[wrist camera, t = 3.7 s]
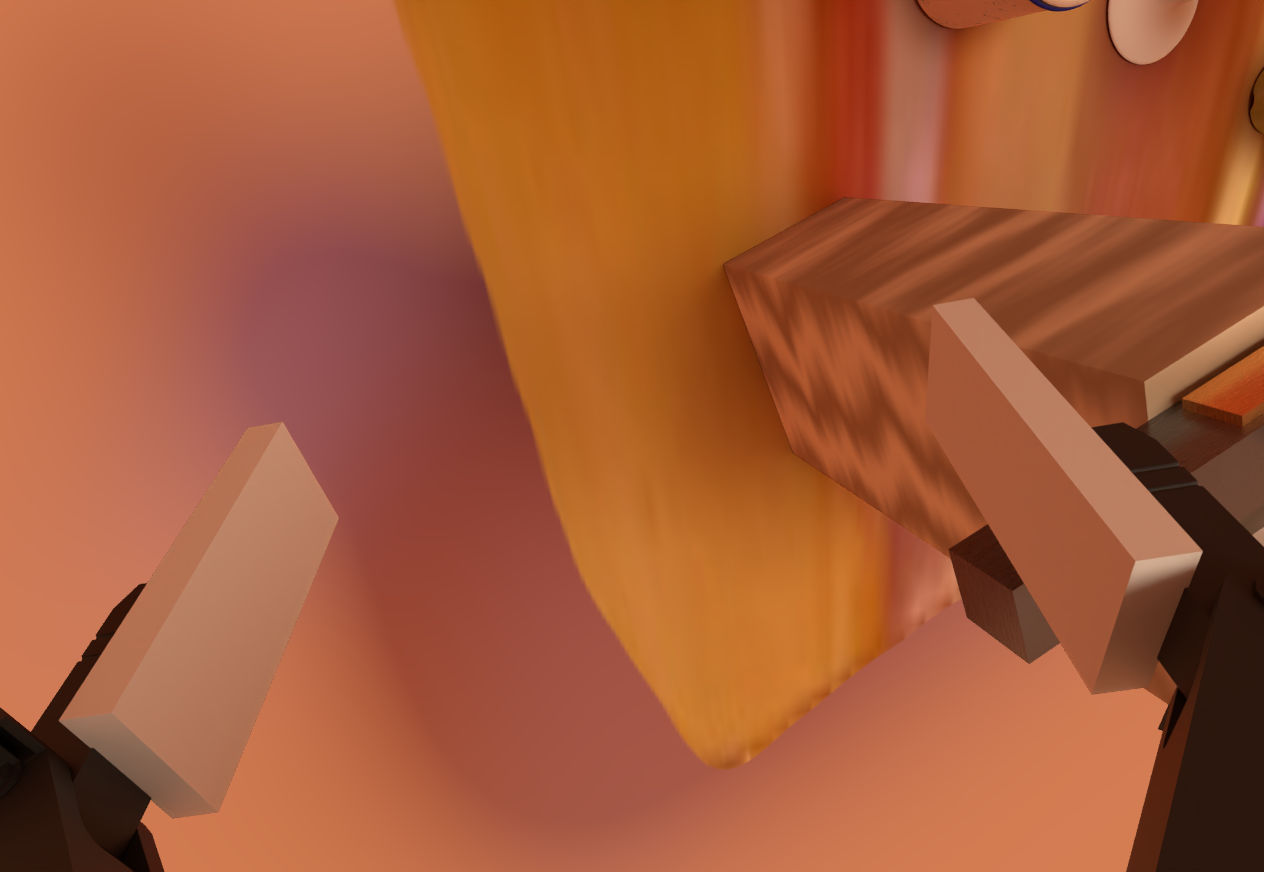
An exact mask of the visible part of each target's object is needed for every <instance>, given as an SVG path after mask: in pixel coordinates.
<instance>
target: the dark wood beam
mask: <svg viewBox="0 0 1264 872" xmlns="http://www.w3.org/2000/svg"><path fill="white" fill-rule="evenodd" d="M1136 429H1137V430H1139V431H1141V432H1143V433H1145V434H1147V435H1149V436H1150V437H1152V438H1154V439H1156V440H1157V441H1158V442H1159V443H1160V444H1161V445H1162V446H1163V447H1164V448H1165V449H1166V450H1167V451H1168V452H1169V453H1170V454H1171V455H1172V456H1173V457H1174V458H1175V459H1176V460H1177V461H1178V462H1179V466H1180V467H1184V468H1185V469H1186V470H1187V471H1188V472H1189V473H1190V474H1191V475H1192V476H1193V477H1194V478H1195V479H1196V480H1197V481H1198V485H1199V486H1203V487H1204V488H1205V489H1206V490H1207V491H1208V492H1209V493H1210V494H1211V495H1212V496H1213V497H1214V498H1215V499H1216V500H1217V501H1218V502H1219V503H1220V504H1221V505H1222V506H1223V507H1224V508H1225V509H1226V510H1227V511H1228V512H1229V513H1230V514H1231V515H1233V516H1234V517H1235V518H1236V519H1237V520H1238V521H1240V520H1241V519H1243V518H1244V517H1246V516H1247V515H1249V514H1250V513H1252V512H1253V511H1255V510H1256V509H1257V508H1259V507H1260V506H1262V505H1263V504H1264V346H1263V347H1261V348H1260V349H1258V350H1257V351H1255V352H1253V353H1252V354H1250V355H1249V356H1247V357H1246V358H1244V359H1243V360H1241V361H1239V362H1238V363H1236V364H1235V365H1233V366H1232V367H1230V368H1229V369H1227V370H1225V371H1224V372H1222V373H1221V374H1219V375H1218V376H1216V377H1215V378H1213V379H1211V380H1210V381H1208V382H1207V383H1205V384H1204V385H1202V386H1201V387H1199V388H1197V389H1196V390H1194V391H1193V392H1191V393H1190V394H1188V395H1186V396H1185V397H1183V398H1182V400H1180V401H1178V402H1177V403H1175V404H1174V405H1172V406H1171V407H1169V408H1167V409H1166V410H1164V411H1163V412H1161V413H1160V414H1158V415H1157V416H1155V417H1153V418H1152V419H1150V420H1149V421H1147V422H1146V423H1144V424H1143V425H1141V426H1139V427H1138V428H1136ZM948 550H949V554H950V557H951V561H952V564H953V568H954V572H955V575H956V579H957V583H958V586H959V590H960V594H961V597H962V601H963V604H964V608H965V612H966V616H967V618H968V619H970V620H971V621H972V622H974V623H975V624H976V625H978V626H979V627H981V628H982V629H983V630H985V631H986V632H987V633H989V634H990V635H991V636H992V637H994V638H995V639H996V640H998V641H999V642H1001V643H1002V644H1003V645H1004V646H1006V647H1007V648H1009V649H1010V650H1011V651H1013V652H1014V653H1015V654H1017V655H1018V656H1019V657H1021V658H1022V659H1023V660H1025V661H1026V662H1027V663H1029V664H1030V663H1031V662H1033V661H1034V660H1036V659H1037V658H1039V657H1040V656H1042V655H1043V654H1045V653H1046V652H1047V651H1049V650H1050V649H1052V648H1053V647H1055V646H1056V645H1058V644H1059V643H1060V642H1059V640H1058V638H1057V637H1056V635H1055V633H1054V632H1053V630H1052V629H1051V627H1050V625H1049V624H1048V622H1047V620H1046V619H1045V617H1044V615H1043V614H1042V612H1041V610H1040V609H1039V607H1038V605H1037V604H1036V602H1035V601H1034V599H1033V597H1032V596H1031V594H1030V592H1029V591H1028V589H1027V587H1026V586H1025V584H1024V582H1023V581H1022V579H1021V578H1020V576H1019V574H1018V573H1017V571H1016V569H1015V568H1014V566H1013V564H1012V563H1011V561H1010V559H1009V558H1008V556H1007V554H1006V553H1005V551H1004V550H1003V548H1002V546H1001V545H1000V543H999V541H998V540H997V538H996V536H995V535H994V533H993V531H992V530H991V528H990V526H989V525H988V524H987V525H985V526H984V527H982V528H981V529H979V530H977V531H976V532H974V533H973V534H971V535H970V536H968V537H967V538H965V539H963V540H962V541H960V542H959V543H957V544H956V545H954V546H953V547H951V548H949V549H948Z"/></svg>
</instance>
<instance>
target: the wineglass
mask: <svg viewBox="0 0 1264 872" xmlns="http://www.w3.org/2000/svg"><path fill="white" fill-rule="evenodd" d="M1197 4H1198V0H1109V3H1108V25H1109V31H1110V35H1111V38H1112V41H1113V43H1114V46H1115V47H1116V49H1117V51H1118V52H1119V53H1120V54H1121V55H1122V56H1123V57H1124V58H1125V59H1126V60H1128V61H1130V62H1132V63H1135V64H1141V65H1144V64H1150V63H1153V62H1156V61H1158V60H1160V59H1161V58H1163V57H1164V56H1166V55H1167V54H1168V53H1169V52H1170V51H1171V50H1172V49H1173V48H1174V47H1175V46H1176V45H1177V44H1178V43H1179V42H1180V40H1181V39H1182V37H1183V36H1184V34H1185V33H1186V31H1187V29H1188V27H1189V25H1190V23H1191V21H1192V19H1193V16H1194V14H1195V11H1196V7H1197Z"/></svg>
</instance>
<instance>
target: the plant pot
mask: <svg viewBox="0 0 1264 872" xmlns="http://www.w3.org/2000/svg"><path fill="white" fill-rule="evenodd" d="M1253 94H1254V104H1253V106H1252V109H1251V110H1250V115H1251V120H1252V123H1253V125H1254V127H1255V128H1256V129H1257V130H1258V131H1259V132H1261V133H1263V134H1264V69H1263V71H1262V72H1261V74H1260V76H1259V77H1258V79H1257V81H1256V84H1255V86H1254V89H1253Z"/></svg>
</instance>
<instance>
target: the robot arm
mask: <svg viewBox="0 0 1264 872" xmlns="http://www.w3.org/2000/svg"><path fill="white" fill-rule="evenodd" d="M925 421H926V423H927V424H928V426H929V428H930V429H931V431H932V433H933V434H934V436H935V438H936V439H937V441H938V443H939V444H940V446H941V448H942V449H943V451H944V452H945V454H946V456H947V457H948V459H949V461H950V462H951V464H952V466H953V467H954V469H955V471H956V472H957V474H958V475H959V477H960V479H961V480H962V482H963V484H964V485H965V487H966V489H967V490H968V492H969V494H970V495H971V497H972V499H973V500H974V502H975V503H976V505H977V507H978V508H979V510H980V512H981V513H982V515H983V517H984V518H985V520H986V522H987V523H988V525H989V526H990V528H991V530H992V531H993V533H994V535H995V536H996V538H997V540H998V541H999V543H1000V545H1001V546H1002V548H1003V550H1004V551H1005V553H1006V554H1007V556H1008V558H1009V559H1010V561H1011V563H1012V564H1013V566H1014V568H1015V569H1016V571H1017V573H1018V574H1019V576H1020V578H1021V579H1022V581H1023V582H1024V584H1025V586H1026V587H1027V589H1028V591H1029V592H1030V594H1031V596H1032V597H1033V599H1034V601H1035V602H1036V604H1037V605H1038V607H1039V609H1040V610H1041V612H1042V614H1043V615H1044V617H1045V619H1046V620H1047V622H1048V624H1049V625H1050V627H1051V629H1052V630H1053V632H1054V633H1055V635H1056V637H1057V638H1058V640H1059V642H1060V643H1061V645H1062V646H1063V648H1064V650H1065V652H1066V653H1067V655H1068V656H1069V658H1070V660H1071V661H1072V663H1073V665H1074V666H1075V668H1076V670H1077V671H1078V673H1079V675H1080V676H1081V678H1082V679H1083V681H1084V683H1085V684H1086V686H1087V688H1088V689H1089V691H1090V693H1091V694H1092V695H1093V694H1100V693H1108V692H1115V691H1122V690H1130V689H1138V688H1145V687H1148V686H1149V684H1150V681H1151V679H1152V676H1153V674H1154V672H1155V669H1156V667H1157V664H1158V662H1160V663H1161V665H1162V666H1163V667H1164V669H1165V670H1166V672H1167V673H1168V674H1169V676H1170V677H1171V679H1172V680H1173V681H1174V683H1175V684H1176V685H1177V687H1176V689H1175V691H1174V694H1173V696H1172V698H1171V701H1170V703H1169V705H1168V707H1167V710H1166V712H1165V714H1164V716H1163V719H1162V721H1161V723H1160V725H1159V728H1158V729H1159V730H1162V731H1163V733H1162V737H1161V741H1160V744H1159V748H1158V752H1157V756H1156V760H1155V764H1154V767H1153V771H1152V775H1151V779H1150V783H1149V787H1148V790H1147V794H1146V798H1145V802H1144V806H1143V810H1142V813H1141V817H1140V821H1139V825H1138V829H1137V833H1136V837H1135V840H1134V844H1133V848H1132V852H1131V856H1130V859H1129V863H1128V867H1127V871H1126V872H1264V546H1263V545H1262V544H1261V543H1260V542H1259V541H1258V540H1257V539H1256V538H1255V537H1254V536H1253V535H1252V534H1251V533H1250V532H1249V531H1248V530H1247V529H1246V528H1245V527H1244V526H1243V525H1242V524H1241V523H1240V522H1239V521H1238V520H1237V519H1236V518H1235V517H1234V516H1233V515H1231V514H1230V513H1229V512H1228V511H1227V510H1226V509H1225V508H1224V507H1223V506H1222V505H1221V504H1220V503H1219V502H1218V501H1217V500H1216V499H1215V498H1214V497H1213V496H1212V495H1211V494H1210V493H1209V492H1208V491H1207V490H1206V489H1205V488H1204V487H1203V486H1199V485H1198V481H1197V480H1196V479H1195V478H1194V477H1193V476H1192V475H1191V474H1190V473H1189V472H1188V471H1187V470H1186V469H1185V468H1184V467H1180V466H1179V462H1178V461H1177V460H1176V459H1175V458H1174V457H1173V456H1172V455H1171V454H1170V453H1169V452H1168V451H1167V450H1166V449H1165V448H1164V447H1163V446H1162V445H1161V444H1160V443H1159V442H1158V441H1157V440H1156V439H1154V438H1152V437H1150V436H1149V435H1147V434H1145V433H1143V432H1141V431H1139V430H1137V429H1135V428H1133V427H1131V426H1129V425H1128V424H1126V423H1124V422H1121V423H1115V424H1109V425H1103V426H1097V427H1090V426H1089V425H1088V424H1087V422H1086V421H1085V420H1084V419H1083V418H1082V417H1081V416H1080V415H1079V414H1078V413H1077V411H1076V410H1075V409H1074V408H1073V407H1072V406H1071V405H1070V404H1069V403H1068V401H1067V400H1066V399H1065V398H1064V397H1063V396H1062V395H1061V394H1060V393H1059V392H1058V390H1057V389H1056V388H1055V387H1054V386H1053V385H1052V384H1051V383H1050V382H1049V381H1048V379H1047V378H1046V377H1045V376H1044V375H1043V374H1042V373H1041V372H1040V371H1039V369H1038V368H1037V367H1036V366H1035V365H1034V364H1033V363H1032V362H1031V361H1030V360H1029V358H1028V357H1027V356H1026V355H1025V354H1024V353H1023V352H1022V351H1021V350H1020V348H1019V347H1018V346H1017V345H1016V344H1015V343H1014V342H1013V341H1012V340H1011V339H1010V337H1009V336H1008V335H1007V334H1006V333H1005V332H1004V331H1003V330H1002V329H1001V327H1000V326H999V325H998V324H997V323H996V322H995V321H994V320H993V319H992V318H991V316H990V315H989V314H988V313H987V312H986V311H985V310H984V309H983V308H982V306H981V305H980V304H979V303H978V302H977V301H976V300H975V299H974V298H970V299H965V300H959V301H953V302H948V303H942V304H937V305H933V308H932V323H931V338H930V353H929V368H928V382H927V397H926V412H925ZM338 519H339V518H338V516H337V514H336V512H335V510H334V509H333V507H332V505H331V504H330V502H329V500H328V499H327V497H326V495H325V493H324V492H323V490H322V488H321V487H320V485H319V483H318V482H317V480H316V478H315V476H314V475H313V473H312V471H311V469H310V468H309V466H308V464H307V463H306V461H305V459H304V458H303V456H302V454H301V452H300V451H299V449H298V447H297V446H296V444H295V442H294V440H293V439H292V437H291V435H290V434H289V432H288V431H287V428H286V427H285V425H284V423H283V422H278V423H273V424H267V425H261V426H256V427H250V428H247V429H246V431H245V433H244V434H243V436H242V437H241V439H240V440H239V442H238V443H237V445H236V447H235V448H234V450H233V451H232V453H231V454H230V456H229V457H228V459H227V461H226V462H225V464H224V465H223V467H222V468H221V470H220V471H219V473H218V474H217V476H216V477H215V479H214V481H213V482H212V484H211V485H210V487H209V489H208V490H207V491H206V493H205V495H204V496H203V498H202V499H201V501H200V502H199V504H198V505H197V507H196V509H195V510H194V512H193V513H192V515H191V516H190V518H189V519H188V521H187V522H186V524H185V526H184V527H183V529H182V530H181V532H180V533H179V535H178V537H177V538H176V539H175V541H174V543H173V544H172V546H171V547H170V549H169V550H168V552H167V553H166V555H165V557H164V558H163V560H162V561H161V563H160V564H159V566H158V567H157V569H156V570H155V572H154V574H153V575H152V577H151V578H150V580H149V581H148V583H145V584H139V585H138V586H137V587H136V588H135V589H134V590H133V591H132V592H131V593H130V594H129V595H127V597H125V598H124V599H123V600H122V601H121V602H120V603H119V604H118V605H117V606H116V607H115V608H114V609H113V610H112V612H111V613H110V615H109V616H108V617H107V619H106V620H105V622H104V623H103V625H102V627H101V628H100V630H99V631H98V632H97V634H96V640H92V641H91V643H90V645H89V646H88V647H87V649H86V650H85V652H84V653H83V655H82V661H80V662H77V664H76V665H75V667H74V668H73V670H72V671H71V673H70V674H69V676H68V677H67V679H66V680H65V682H64V683H63V685H62V686H61V688H60V689H59V691H58V692H57V694H56V695H55V697H54V698H53V700H52V702H51V703H50V704H49V706H48V707H47V709H46V710H45V712H44V713H43V715H42V716H41V718H40V719H39V721H38V722H37V724H36V725H35V727H34V728H33V730H32V731H31V732H30V731H28V730H27V729H26V728H25V727H24V726H22V725H21V724H20V723H19V722H17V721H16V720H15V719H14V718H13V717H11V716H10V715H9V714H8V713H6V712H5V711H4V710H3V709H2V708H0V872H164V869H163V866H162V863H161V860H160V857H159V854H158V851H157V848H156V845H155V842H154V839H153V836H152V833H151V832H150V831H149V830H148V829H147V827H146V826H145V825H144V824H143V823H141V822H140V820H141V819H142V816H143V814H144V812H145V810H146V808H147V806H148V804H149V802H150V800H152V801H153V802H154V803H155V804H156V805H157V806H159V807H160V808H161V809H162V810H163V811H165V812H166V813H167V814H168V815H169V816H170V817H172V818H179V817H187V816H194V815H201V814H209V813H216V812H219V810H220V807H221V805H222V802H223V800H224V797H225V795H226V793H227V790H228V788H229V785H230V782H231V780H232V778H233V776H234V773H235V771H236V768H237V766H238V763H239V761H240V758H241V756H242V753H243V751H244V749H245V746H246V744H247V741H248V739H249V736H250V734H251V732H252V729H253V727H254V724H255V722H256V719H257V717H258V714H259V712H260V709H261V707H262V705H263V702H264V700H265V697H266V695H267V692H268V690H269V687H270V685H271V683H272V680H273V678H274V675H275V673H276V670H277V668H278V666H279V663H280V661H281V658H282V656H283V653H284V651H285V648H286V646H287V644H288V641H289V639H290V636H291V634H292V631H293V629H294V626H295V624H296V622H297V619H298V616H299V614H300V612H301V609H302V607H303V605H304V602H305V600H306V597H307V595H308V592H309V590H310V587H311V585H312V583H313V580H314V577H315V575H316V573H317V570H318V568H319V565H320V563H321V561H322V558H323V556H324V553H325V551H326V548H327V546H328V543H329V541H330V539H331V536H332V534H333V531H334V529H335V526H336V524H337V521H338Z"/></svg>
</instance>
